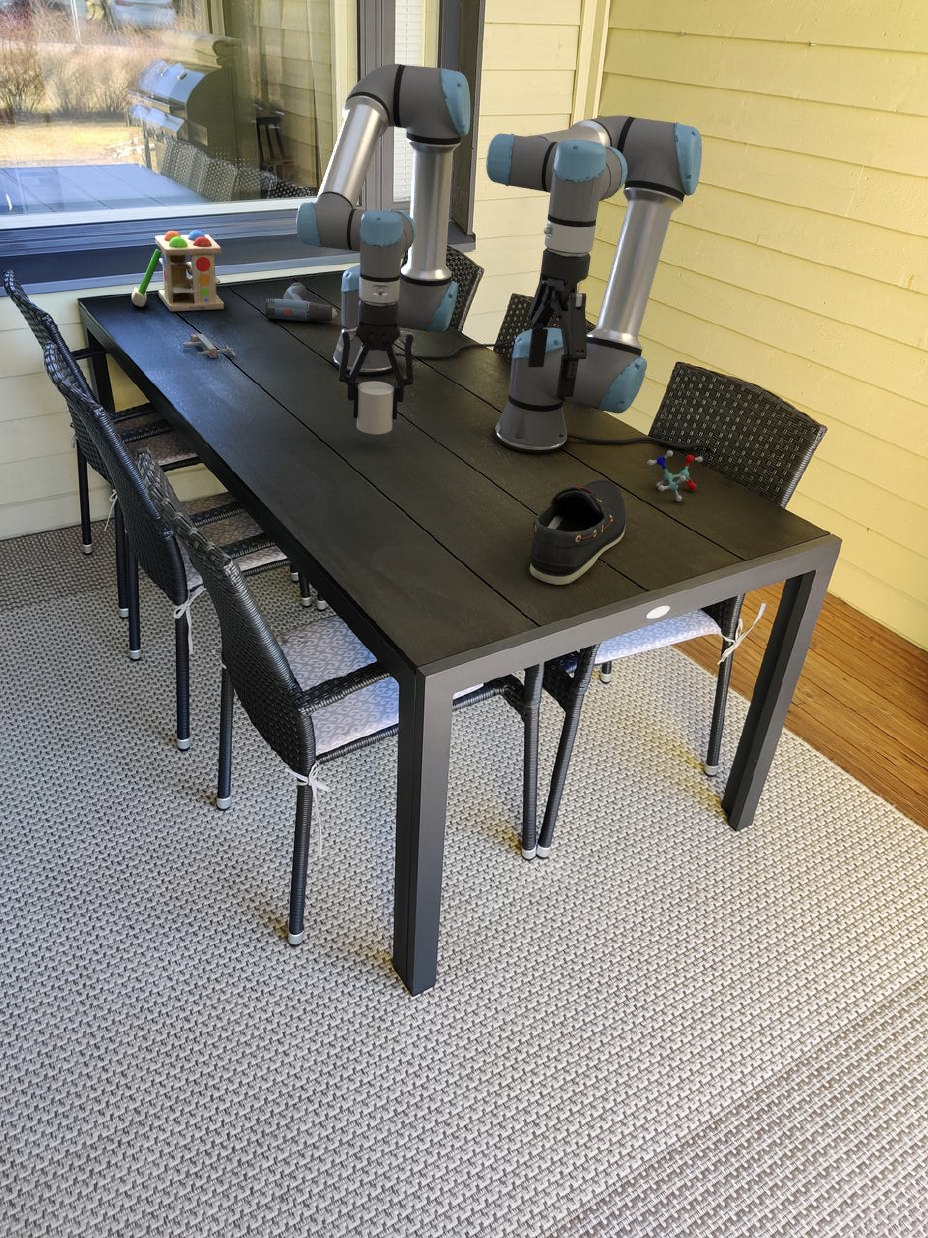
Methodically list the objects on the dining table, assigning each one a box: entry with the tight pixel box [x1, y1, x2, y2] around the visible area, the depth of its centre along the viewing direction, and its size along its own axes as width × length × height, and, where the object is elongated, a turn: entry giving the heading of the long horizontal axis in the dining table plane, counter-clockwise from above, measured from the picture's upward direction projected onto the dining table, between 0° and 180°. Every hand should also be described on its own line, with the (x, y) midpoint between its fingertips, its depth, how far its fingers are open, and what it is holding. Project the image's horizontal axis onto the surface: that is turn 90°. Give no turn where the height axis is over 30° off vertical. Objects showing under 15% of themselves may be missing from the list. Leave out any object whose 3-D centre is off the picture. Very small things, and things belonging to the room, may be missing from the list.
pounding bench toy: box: [131, 230, 225, 312], centre depth 259 cm, size 23×14×18 cm, turn 116°
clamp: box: [182, 333, 239, 359], centre depth 235 cm, size 15×2×10 cm
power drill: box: [264, 282, 338, 322], centre depth 265 cm, size 5×19×20 cm
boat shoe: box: [529, 479, 627, 586], centre depth 172 cm, size 13×33×10 cm, turn 147°
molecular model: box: [646, 450, 704, 503], centre depth 192 cm, size 12×10×10 cm
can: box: [356, 380, 394, 435], centre depth 195 cm, size 7×7×8 cm
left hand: (374, 415), depth 196 cm, fingers closed on can, 7 cm apart
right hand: (549, 381), depth 165 cm, fingers open, 13 cm apart
